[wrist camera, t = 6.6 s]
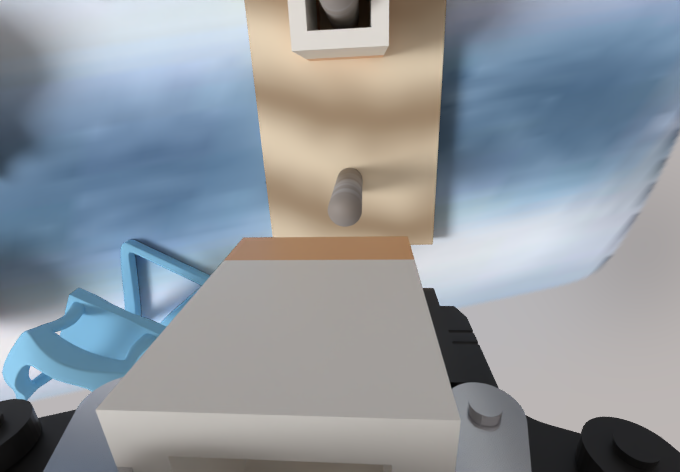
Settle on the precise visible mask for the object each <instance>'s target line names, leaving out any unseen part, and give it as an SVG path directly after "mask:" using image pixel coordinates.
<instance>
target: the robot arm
mask: <svg viewBox="0 0 680 472" xmlns="http://www.w3.org/2000/svg"><path fill="white" fill-rule="evenodd" d="M423 291H424V295H425V298H426V302H427V305H428V309H429V312H430V316H431V319H432V322H433V326H434V329H435V333H436V336H437V340H438V343H439V347H440V350H441V354H442V357H443V361H444V364H445V368H446V371H447V375H448V378H449V381H450V385H451V388H452V392H453V395H454V399H455V402H456V406H457V409H458V413H459V416H460V420H461V423H460V432H459V441H458V450H457V458H456V467H455V472H680V452H678V451H677V450H676V449H675V448H674V447H672V446H671V445H670V444H669V443H668V442H666V441H665V440H664V439H662V438H661V437H660V436H658V435H656V434H655V433H653V432H652V431H650V430H648V429H646V428H644V427H642V426H640V425H638V424H635V423H633V422H630V421H627V420H623V419H619V418H614V417H597V418H594V419H591V420H589V421H588V422H586V424H585V425H584V426H583V429H582V432H581V434H580V433H577V432H573V431H569V430H566V429H562V428H559V427H555V426H551V425H548V424H545V423H542V422H539V421H537V420H534V419H532V418H530V417H528V416H526V415H525V413H524V411H523V409H522V407H521V406H520V405H519V404H518V402H517V401H516V400H515V399H514V398H512V397H511V396H510V395H509V394H507V393H506V392H504V391H502V390H500V389H499V388H498V386H497V384H496V381H495V379H494V377H493V375H492V373H491V370H490V368H489V366H488V364H487V362H486V359H485V357H484V355H483V352H482V350H481V348H480V346H479V345H478V341H477V339H476V337H475V335H474V333H473V330H472V328H471V326H470V324H469V321H468V319H467V317H466V316H464V315H463V314H462V313H461V312H460V311H459V310H458V309H457V308H455V307H454V306H440V305H439V302H438V299H437V296H436V294H435V291H434V289H433V288H423ZM122 378H123V377H121V378H118V379H115V380H112V381H110V382H108V383H106V384H104V385H102V386H100V387H99V388H97V389H96V390H94V391H93V392H92V393H90V394H89V395H88V396H87V397H86V398H85V399H84V400H83V401H82V402H81V403H80V405H79V406H78V408H77V409H76V410H72V411H68V412H63V413H59V414H55V415H50V416H46V417H41V418H38V417H37V415H36V413H35V411H34V408H33V406H32V405H31V403H30V402H29V401H27V400H23V399H10V400H5V401H1V402H0V472H134V471H133V468H132V467H117V466H116V464H115V461H114V458H113V456H112V453H111V450H110V448H109V445H108V442H107V440H106V437H105V434H104V432H103V429H102V426H101V424H100V421H99V418H98V416H97V413H96V408H97V407H98V406H99V405H100V404H101V403H102V401H103V400H104V399H105V398H106V397H107V396H108V394H109V393H110V392H111V391H112V390H113V389H114V387H115V386H116V385H117V384H118V383H119V382H120V380H121V379H122Z"/></svg>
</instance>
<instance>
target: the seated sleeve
mask: <svg viewBox="0 0 680 472" xmlns="http://www.w3.org/2000/svg"><path fill="white" fill-rule="evenodd" d="M288 12H289V25H290V37H291V49H292V52H294V53H296V54H298V55H300V56H301V57H303V58H305V59H307V60H308V61H322V60H341V59H360V58H379V57H383V56H384V54H385V52H386V50H387V48H388V46H389V0H369V24H370V27H367V28H350V29H333V30H320V14H319V0H288Z"/></svg>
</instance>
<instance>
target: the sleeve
mask: <svg viewBox="0 0 680 472" xmlns="http://www.w3.org/2000/svg"><path fill="white" fill-rule="evenodd" d="M96 413H97V416H98V418H99V421H100V424H101V426H102V429H103V432H104V434H105V437H106V440H107V442H108V445H109V448H110V450H111V453H112V456H113V458H114V461H115V464H116V466H117V467H132V468H133V471H134V472H455V467H456V458H457V450H458V441H459V432H460V423H461V420H460V416H459V413H458V409H457V406H456V402H455V399H454V395H453V392H452V388H451V385H450V381H449V378H448V375H447V371H446V368H445V364H444V361H443V357H442V354H441V350H440V347H439V343H438V340H437V336H436V333H435V329H434V326H433V322H432V319H431V316H430V312H429V309H428V305H427V302H426V298H425V295H424V291H423V288H422V284H421V281H420V277H419V274H418V270H417V267H416V264H415V260H414V257H413V253H412V250H411V246H410V243H409V239H408V236H368V237H261V238H243V239H242V240H241V241H240V242H239V243H238V244H237V246H236V247H235V248H234V249H233V250H232V251H231V253H230V254H229V255H228V256H227V257H226V258H225V260H224V261H223V262H222V263H221V264H220V265H219V267H218V268H217V269H216V270H215V271H214V272H213V274H212V275H211V276H210V277H209V278H208V279H207V281H206V282H205V283H204V284H203V285H202V286H201V287H200V289H199V290H198V291H197V292H196V293H195V294H194V296H193V297H192V298H191V299H190V300H189V301H188V303H187V304H186V305H185V306H184V307H183V308H182V310H181V311H180V312H179V313H178V314H177V315H176V317H175V318H174V319H173V320H172V321H171V322H170V324H169V325H168V326H167V327H166V328H165V329H164V330H163V332H162V333H161V334H160V335H159V336H158V337H157V339H156V340H155V341H154V342H153V343H152V344H151V346H150V347H149V348H148V349H147V350H146V351H145V353H144V354H143V355H142V356H141V357H140V358H139V360H138V361H137V362H136V363H135V364H134V365H133V367H132V368H131V369H130V370H129V371H128V372H127V374H126V375H125V376H124V377H123V378H122V379H121V380H120V382H119V383H118V384H117V385H116V386H115V387H114V389H113V390H112V391H111V392H110V393H109V394H108V396H107V397H106V398H105V399H104V400H103V401H102V403H101V404H100V405H99V406H98V407H97V408H96Z"/></svg>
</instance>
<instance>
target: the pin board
mask: <svg viewBox="0 0 680 472" xmlns="http://www.w3.org/2000/svg"><path fill="white" fill-rule="evenodd" d="M244 1H245V9H246V17H247V26H248V34H249V42H250V51H251V59H252V67H253V76H254V84H255V93H256V101H257V109H258V118H259V126H260V134H261V143H262V151H263V159H264V168H265V176H266V184H267V193H268V201H269V210H270V218H271V226H272V235H273V237H368V236H408V239H409V243H410V245H425V244H433V229H434V211H435V193H436V176H437V158H438V140H439V122H440V105H441V87H442V69H443V52H444V34H445V16H446V0H389V46H388V48H387V50H386V52H385V54H384V56H383V57H379V58H360V59H341V60H322V61H308V60H307V59H305V58H303V57H301V56H300V55H298V54H296V53H294V52H292V49H291V37H290V25H289V12H288V0H244ZM319 14H320V30H333V29H350V28H367V27H370V24H369V0H319Z"/></svg>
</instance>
